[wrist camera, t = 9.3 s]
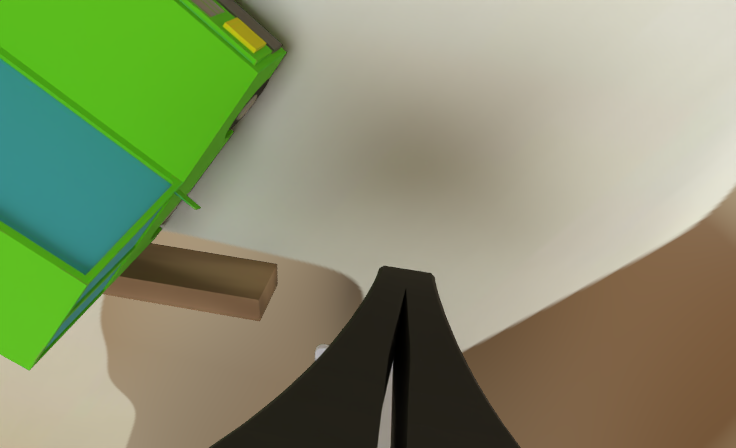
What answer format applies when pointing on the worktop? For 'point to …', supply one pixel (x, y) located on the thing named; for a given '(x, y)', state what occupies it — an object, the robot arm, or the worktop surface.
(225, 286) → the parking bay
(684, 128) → the worktop surface
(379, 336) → the robot arm
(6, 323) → the toy car
